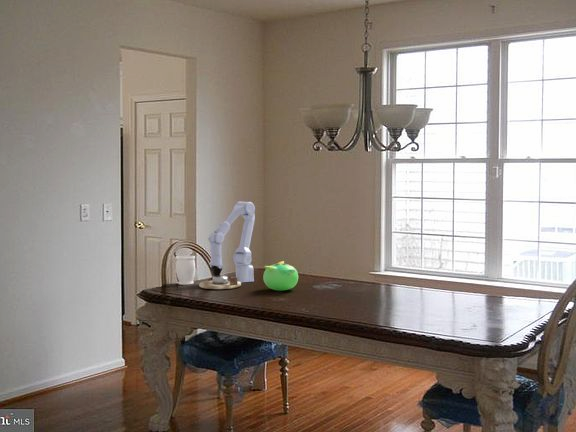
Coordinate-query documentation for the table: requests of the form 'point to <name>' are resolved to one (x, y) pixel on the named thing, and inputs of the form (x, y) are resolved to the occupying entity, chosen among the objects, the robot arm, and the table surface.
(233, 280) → the disc
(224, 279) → the cover
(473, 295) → the table surface
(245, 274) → the robot arm
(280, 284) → the green tomato
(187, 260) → the jar
